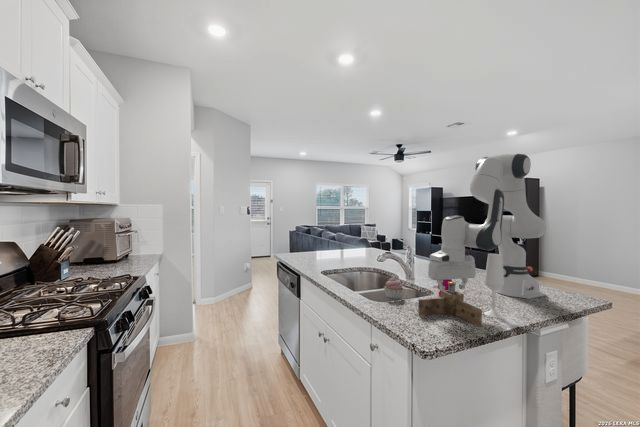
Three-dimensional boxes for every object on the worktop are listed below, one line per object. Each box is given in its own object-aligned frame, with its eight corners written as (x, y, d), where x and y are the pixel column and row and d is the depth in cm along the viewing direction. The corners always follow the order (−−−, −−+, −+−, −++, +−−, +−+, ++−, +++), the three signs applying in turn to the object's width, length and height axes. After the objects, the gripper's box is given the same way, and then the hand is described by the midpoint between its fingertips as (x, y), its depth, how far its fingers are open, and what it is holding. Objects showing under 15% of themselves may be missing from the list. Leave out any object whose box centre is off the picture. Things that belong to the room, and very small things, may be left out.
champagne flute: (505, 318, 112) (507, 256, 111) (486, 316, 114) (487, 255, 113) (500, 312, 118) (501, 253, 118) (482, 310, 120) (483, 252, 120)
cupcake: (398, 302, 130) (398, 280, 130) (379, 298, 136) (380, 276, 136) (407, 297, 137) (407, 276, 137) (389, 293, 143) (389, 273, 143)
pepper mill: (450, 294, 143) (451, 253, 143) (456, 298, 136) (457, 256, 136) (435, 293, 144) (436, 253, 144) (440, 298, 137) (441, 255, 136)
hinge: (444, 330, 100) (444, 307, 100) (414, 312, 118) (415, 292, 118) (487, 325, 105) (487, 303, 105) (452, 308, 122) (453, 289, 122)
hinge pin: (452, 301, 120) (452, 281, 120) (457, 304, 117) (457, 283, 117) (446, 302, 120) (446, 281, 120) (451, 304, 117) (451, 283, 117)
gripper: (468, 253, 124) (467, 286, 124) (426, 255, 119) (425, 288, 119) (480, 256, 118) (479, 290, 118) (436, 257, 113) (435, 293, 113)
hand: (452, 289), depth 118 cm, fingers open, 8 cm apart
